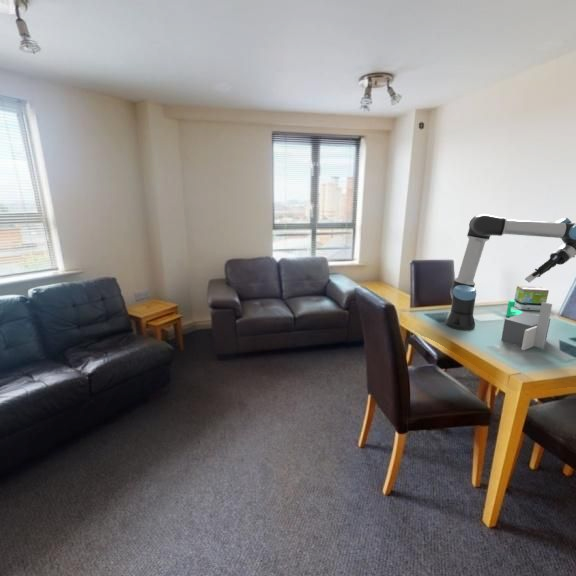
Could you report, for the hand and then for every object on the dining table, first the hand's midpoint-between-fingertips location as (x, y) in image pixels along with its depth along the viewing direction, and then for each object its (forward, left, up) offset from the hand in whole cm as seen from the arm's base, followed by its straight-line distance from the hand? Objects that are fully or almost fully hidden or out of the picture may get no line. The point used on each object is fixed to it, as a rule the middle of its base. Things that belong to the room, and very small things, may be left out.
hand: (527, 280), depth 169 cm
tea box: (+39, +45, -31) cm, 67 cm away
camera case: (-3, -9, -30) cm, 32 cm away
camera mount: (+18, +29, -31) cm, 46 cm away
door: (-9, -22, -29) cm, 38 cm away
